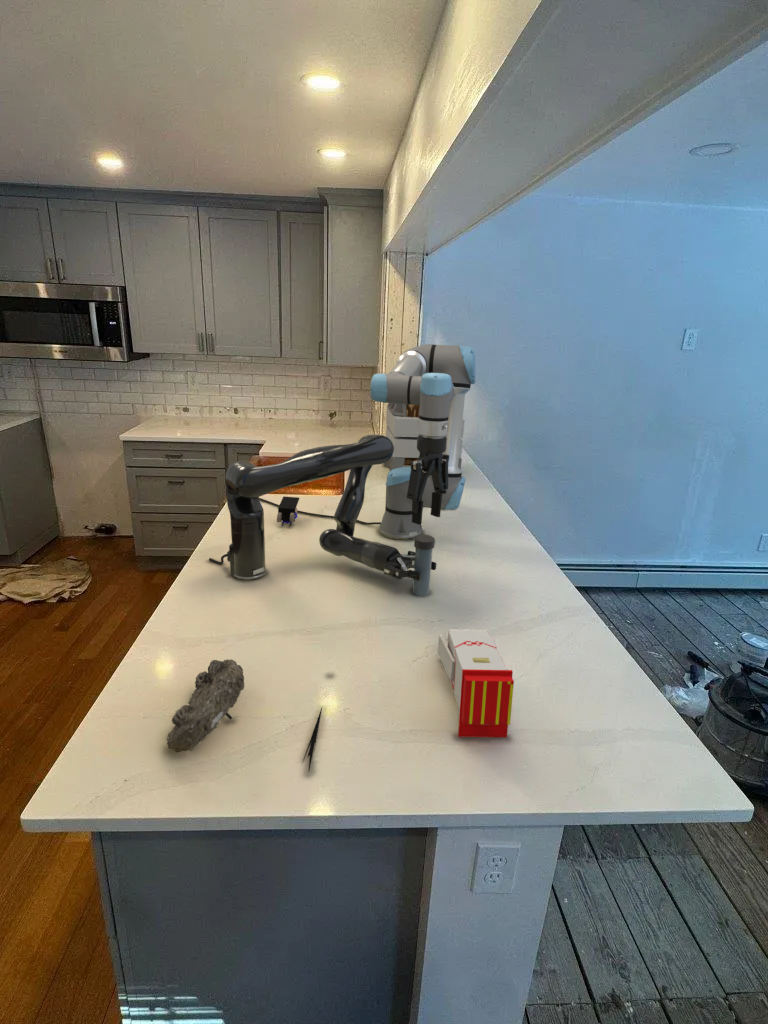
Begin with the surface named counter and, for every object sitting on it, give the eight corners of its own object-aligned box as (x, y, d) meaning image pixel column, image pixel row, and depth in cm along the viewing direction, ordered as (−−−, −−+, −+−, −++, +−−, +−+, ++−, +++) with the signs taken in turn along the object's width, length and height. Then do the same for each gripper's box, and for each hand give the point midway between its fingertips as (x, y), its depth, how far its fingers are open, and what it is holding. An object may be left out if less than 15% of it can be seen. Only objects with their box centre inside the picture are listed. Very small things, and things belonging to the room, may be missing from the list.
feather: (331, 679, 122) (336, 673, 122) (307, 777, 96) (313, 769, 95) (324, 675, 122) (329, 669, 121) (298, 772, 95) (304, 764, 95)
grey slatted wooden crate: (382, 463, 289) (386, 382, 275) (445, 464, 293) (451, 384, 279) (390, 482, 257) (394, 392, 243) (460, 483, 261) (468, 394, 247)
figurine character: (295, 532, 200) (300, 513, 214) (294, 513, 197) (299, 495, 210) (276, 531, 200) (282, 512, 213) (275, 512, 197) (281, 494, 210)
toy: (488, 613, 130) (523, 677, 101) (484, 667, 133) (517, 744, 104) (435, 612, 130) (455, 676, 101) (432, 666, 133) (451, 743, 103)
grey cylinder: (432, 591, 160) (436, 539, 155) (422, 597, 157) (426, 544, 151) (419, 586, 163) (422, 535, 157) (409, 592, 159) (412, 539, 154)
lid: (438, 545, 155) (439, 538, 155) (426, 551, 151) (427, 544, 150) (421, 540, 159) (422, 532, 158) (409, 545, 154) (410, 538, 154)
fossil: (192, 660, 117) (244, 628, 112) (224, 691, 120) (276, 661, 115) (142, 746, 98) (202, 712, 93) (182, 779, 101) (242, 748, 96)
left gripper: (365, 552, 158) (416, 568, 150) (393, 537, 169) (441, 551, 161) (365, 576, 160) (414, 593, 152) (392, 560, 172) (439, 575, 163)
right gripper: (419, 444, 135) (413, 533, 143) (466, 433, 149) (459, 514, 157) (395, 438, 139) (390, 525, 147) (443, 428, 154) (437, 507, 162)
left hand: (428, 571), depth 156 cm, fingers open, 8 cm apart
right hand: (426, 519), depth 152 cm, fingers open, 8 cm apart
